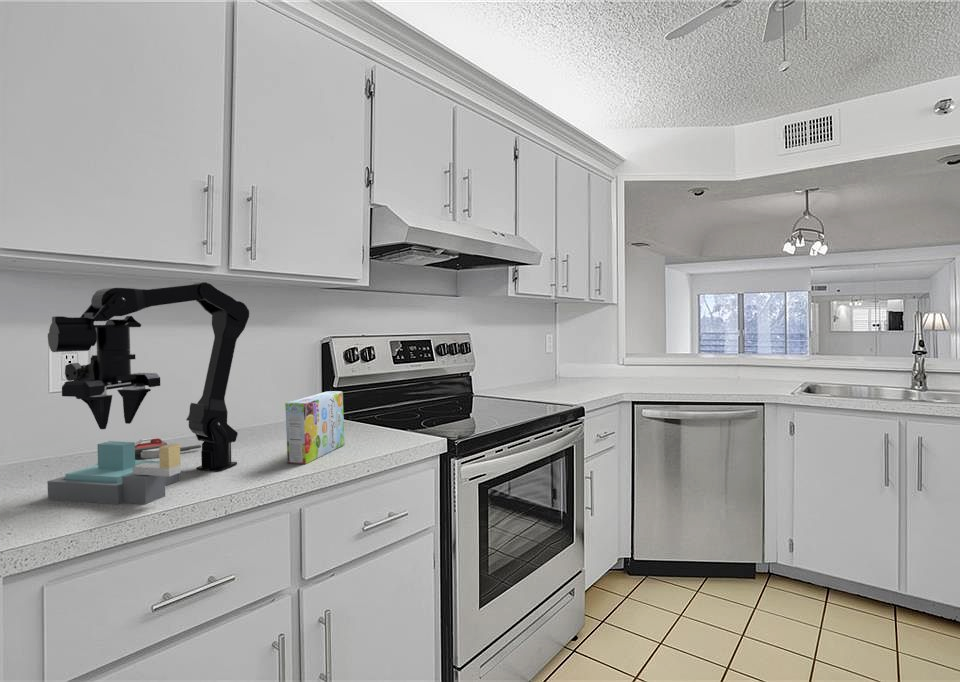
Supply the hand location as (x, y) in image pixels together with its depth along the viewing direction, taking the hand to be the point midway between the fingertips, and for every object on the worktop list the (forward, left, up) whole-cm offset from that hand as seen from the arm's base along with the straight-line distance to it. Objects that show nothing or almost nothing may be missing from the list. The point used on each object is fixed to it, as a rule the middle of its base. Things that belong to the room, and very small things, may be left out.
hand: (115, 426), depth 114 cm
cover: (0, 0, -11) cm, 11 cm away
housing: (0, +2, -13) cm, 13 cm away
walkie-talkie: (-28, -15, -14) cm, 34 cm away
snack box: (-36, +26, -13) cm, 46 cm away
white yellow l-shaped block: (+4, +13, -8) cm, 16 cm away
